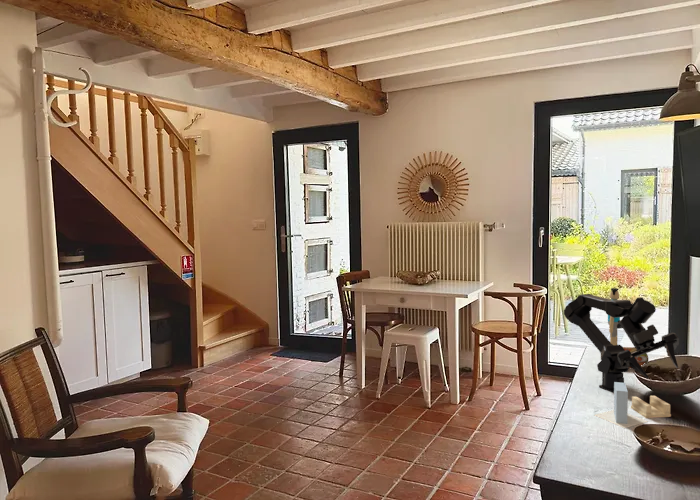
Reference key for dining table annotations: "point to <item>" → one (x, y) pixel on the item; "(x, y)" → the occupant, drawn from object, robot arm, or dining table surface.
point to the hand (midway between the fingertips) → (662, 372)
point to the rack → (651, 407)
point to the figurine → (613, 321)
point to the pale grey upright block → (620, 402)
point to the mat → (630, 422)
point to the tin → (641, 358)
